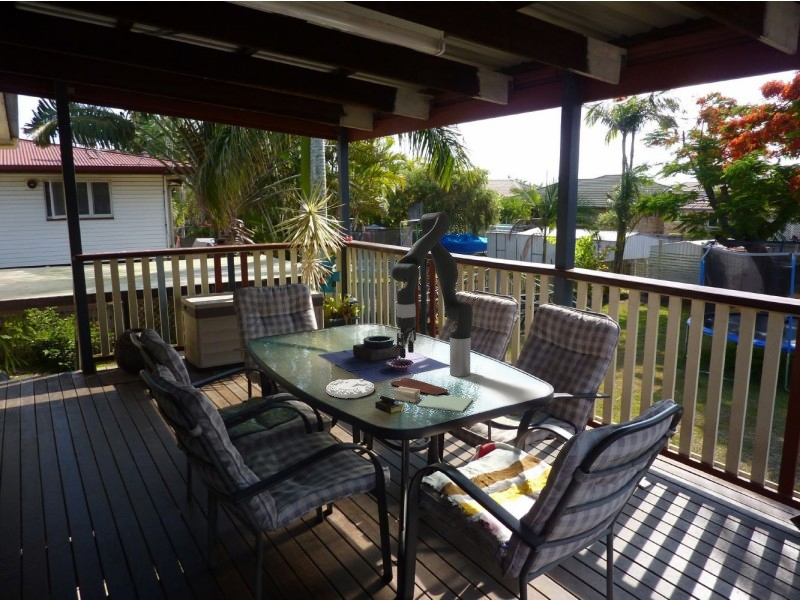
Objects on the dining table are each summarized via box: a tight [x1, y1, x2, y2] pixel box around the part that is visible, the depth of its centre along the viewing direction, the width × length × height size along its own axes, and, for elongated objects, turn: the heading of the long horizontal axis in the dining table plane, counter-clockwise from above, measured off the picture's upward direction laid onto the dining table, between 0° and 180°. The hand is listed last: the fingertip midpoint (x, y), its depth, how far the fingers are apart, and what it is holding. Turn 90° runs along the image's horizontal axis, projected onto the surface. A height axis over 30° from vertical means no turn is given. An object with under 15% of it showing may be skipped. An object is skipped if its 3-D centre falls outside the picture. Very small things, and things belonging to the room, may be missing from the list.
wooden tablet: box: [389, 377, 450, 395], centre depth 243 cm, size 27×10×2 cm, turn 45°
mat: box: [416, 393, 474, 413], centre depth 226 cm, size 14×18×1 cm
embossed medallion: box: [325, 378, 375, 400], centre depth 243 cm, size 20×20×3 cm
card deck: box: [393, 386, 421, 403], centre depth 232 cm, size 5×9×4 cm, turn 60°
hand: (406, 355), depth 229 cm, fingers open, 8 cm apart
